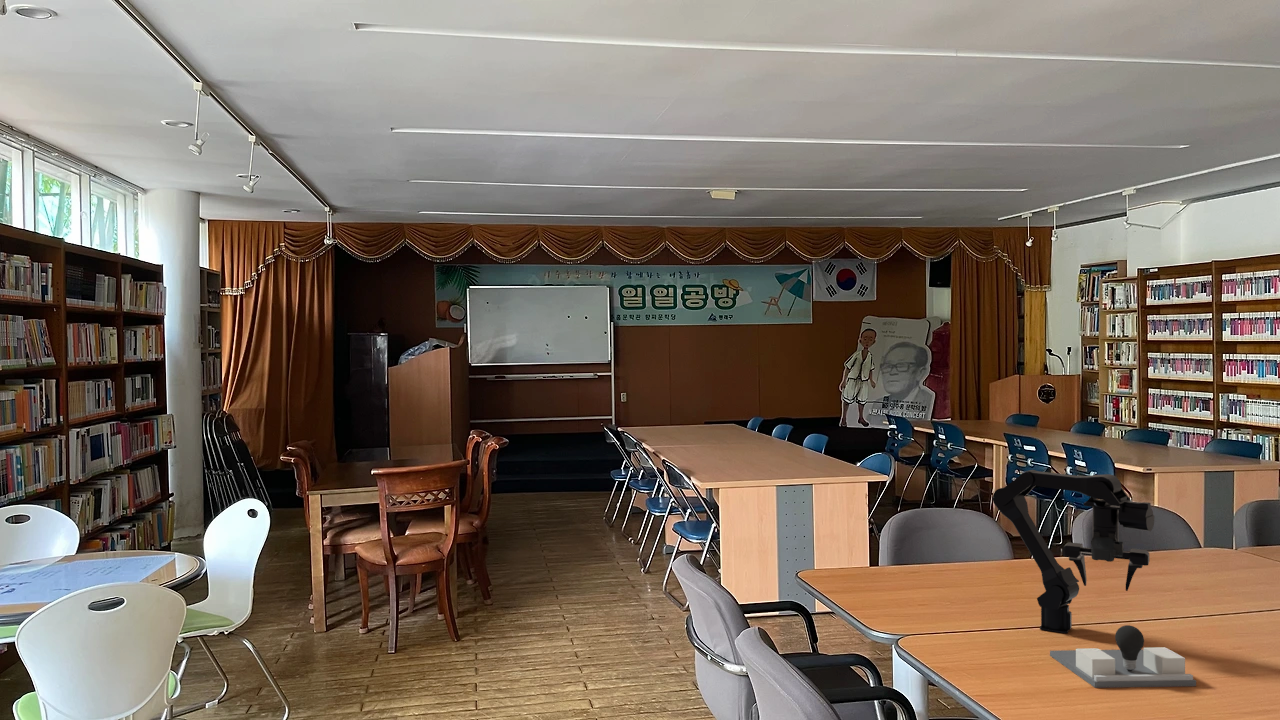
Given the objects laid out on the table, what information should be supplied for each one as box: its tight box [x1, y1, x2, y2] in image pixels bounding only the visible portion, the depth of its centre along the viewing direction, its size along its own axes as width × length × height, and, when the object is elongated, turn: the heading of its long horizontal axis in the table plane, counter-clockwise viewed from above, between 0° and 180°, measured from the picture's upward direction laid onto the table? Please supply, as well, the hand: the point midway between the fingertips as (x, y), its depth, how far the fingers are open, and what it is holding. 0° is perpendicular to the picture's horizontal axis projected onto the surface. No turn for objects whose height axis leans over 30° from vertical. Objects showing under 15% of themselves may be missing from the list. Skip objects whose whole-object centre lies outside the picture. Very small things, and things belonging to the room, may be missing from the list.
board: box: [1049, 646, 1197, 689], centre depth 200 cm, size 20×22×5 cm
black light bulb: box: [1114, 624, 1145, 671], centre depth 196 cm, size 6×6×10 cm
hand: (1105, 588), depth 220 cm, fingers open, 9 cm apart
